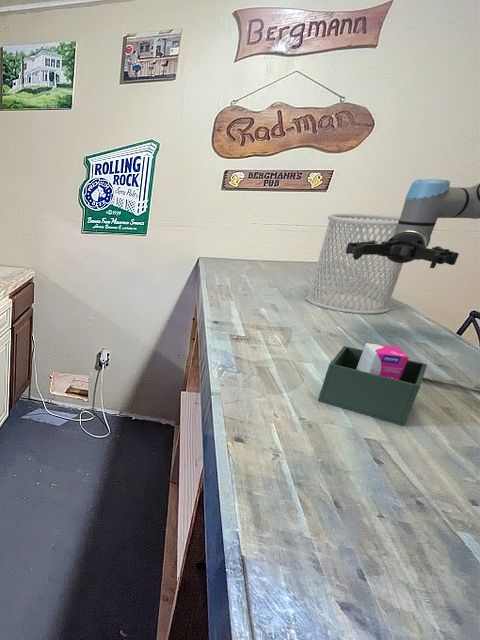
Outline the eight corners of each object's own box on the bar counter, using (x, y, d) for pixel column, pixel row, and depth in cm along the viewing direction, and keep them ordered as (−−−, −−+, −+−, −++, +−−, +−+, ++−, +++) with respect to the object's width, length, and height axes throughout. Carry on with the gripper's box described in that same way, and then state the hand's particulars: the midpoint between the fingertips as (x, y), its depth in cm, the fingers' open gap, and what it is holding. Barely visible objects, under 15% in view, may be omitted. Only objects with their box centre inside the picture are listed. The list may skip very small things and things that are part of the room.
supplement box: (356, 402, 96) (374, 352, 91) (347, 390, 101) (364, 342, 96) (390, 407, 94) (410, 356, 89) (379, 394, 99) (397, 345, 94)
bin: (412, 400, 98) (427, 364, 94) (403, 426, 88) (420, 386, 85) (332, 379, 107) (343, 345, 104) (317, 400, 98) (329, 364, 94)
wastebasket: (318, 291, 180) (341, 211, 168) (397, 305, 163) (428, 217, 151) (295, 302, 165) (318, 216, 153) (378, 319, 148) (411, 223, 136)
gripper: (466, 268, 109) (463, 283, 96) (342, 254, 126) (324, 266, 112) (479, 236, 106) (478, 247, 93) (350, 226, 123) (332, 234, 109)
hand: (393, 257), depth 102 cm, fingers open, 13 cm apart
